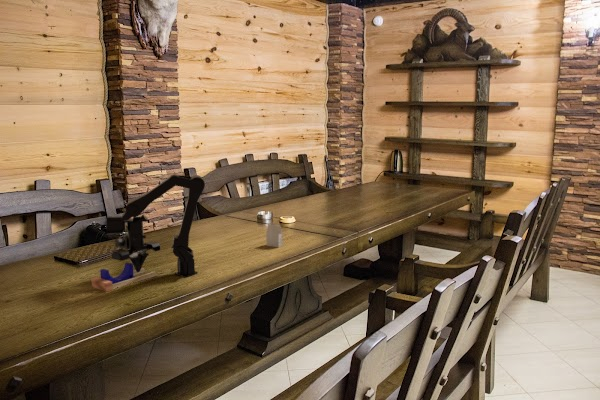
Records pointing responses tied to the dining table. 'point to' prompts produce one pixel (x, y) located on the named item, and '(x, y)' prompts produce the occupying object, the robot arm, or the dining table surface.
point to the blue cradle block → (123, 276)
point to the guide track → (108, 285)
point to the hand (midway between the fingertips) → (138, 272)
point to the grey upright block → (274, 236)
